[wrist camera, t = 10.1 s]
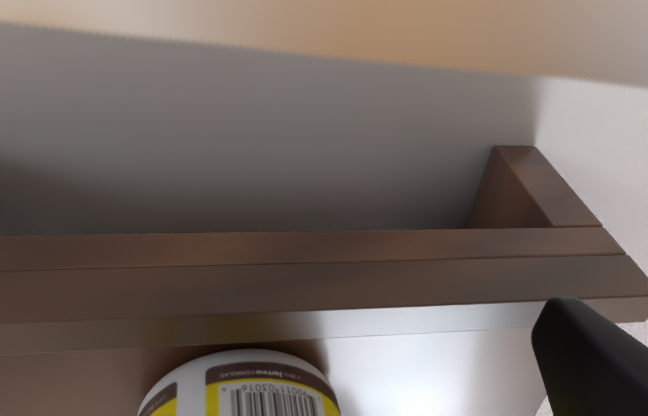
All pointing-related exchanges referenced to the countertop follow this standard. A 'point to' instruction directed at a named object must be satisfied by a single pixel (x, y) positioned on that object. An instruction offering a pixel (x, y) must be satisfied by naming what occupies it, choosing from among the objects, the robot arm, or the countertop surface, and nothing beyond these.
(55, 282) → the shelf
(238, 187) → the countertop surface
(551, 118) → the countertop surface
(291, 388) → the supplement bottle
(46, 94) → the countertop surface
